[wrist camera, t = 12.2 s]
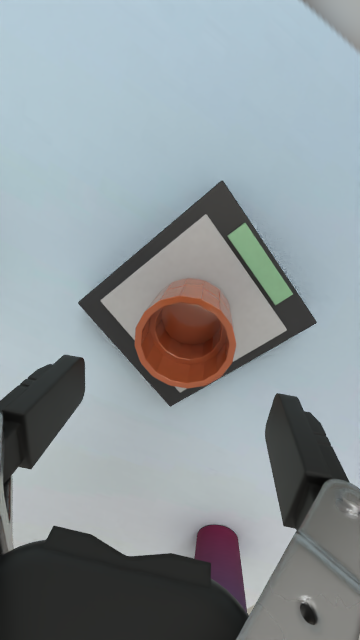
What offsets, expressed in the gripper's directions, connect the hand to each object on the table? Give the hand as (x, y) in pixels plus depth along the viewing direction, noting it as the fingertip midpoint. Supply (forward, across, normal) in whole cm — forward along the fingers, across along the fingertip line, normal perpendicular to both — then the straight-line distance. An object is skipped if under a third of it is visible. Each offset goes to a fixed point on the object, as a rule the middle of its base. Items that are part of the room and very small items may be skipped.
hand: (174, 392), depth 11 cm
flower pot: (+10, 0, 0) cm, 10 cm away
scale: (+12, 0, 0) cm, 13 cm away
